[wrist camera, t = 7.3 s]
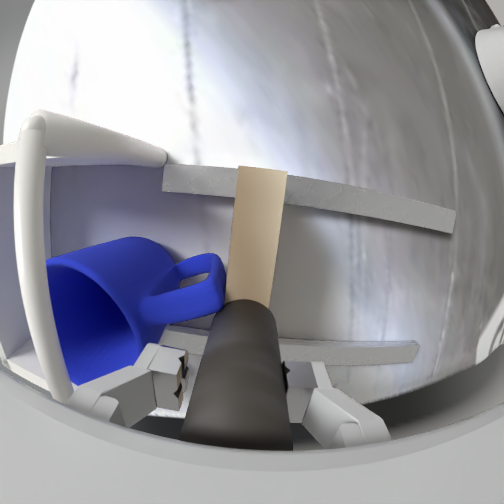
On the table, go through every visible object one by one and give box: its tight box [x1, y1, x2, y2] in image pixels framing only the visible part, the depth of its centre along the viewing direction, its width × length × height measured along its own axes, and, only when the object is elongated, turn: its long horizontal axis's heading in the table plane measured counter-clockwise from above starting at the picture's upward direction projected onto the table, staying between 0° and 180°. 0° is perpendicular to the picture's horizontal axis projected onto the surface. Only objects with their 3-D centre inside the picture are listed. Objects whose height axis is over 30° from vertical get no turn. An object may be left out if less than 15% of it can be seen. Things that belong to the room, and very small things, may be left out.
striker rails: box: [159, 164, 456, 365], centre depth 20 cm, size 24×15×1 cm, turn 83°
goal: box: [0, 110, 167, 404], centre depth 14 cm, size 13×18×14 cm
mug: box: [46, 237, 226, 386], centre depth 16 cm, size 8×12×10 cm
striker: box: [179, 166, 293, 451], centre depth 13 cm, size 3×14×14 cm, turn 174°
